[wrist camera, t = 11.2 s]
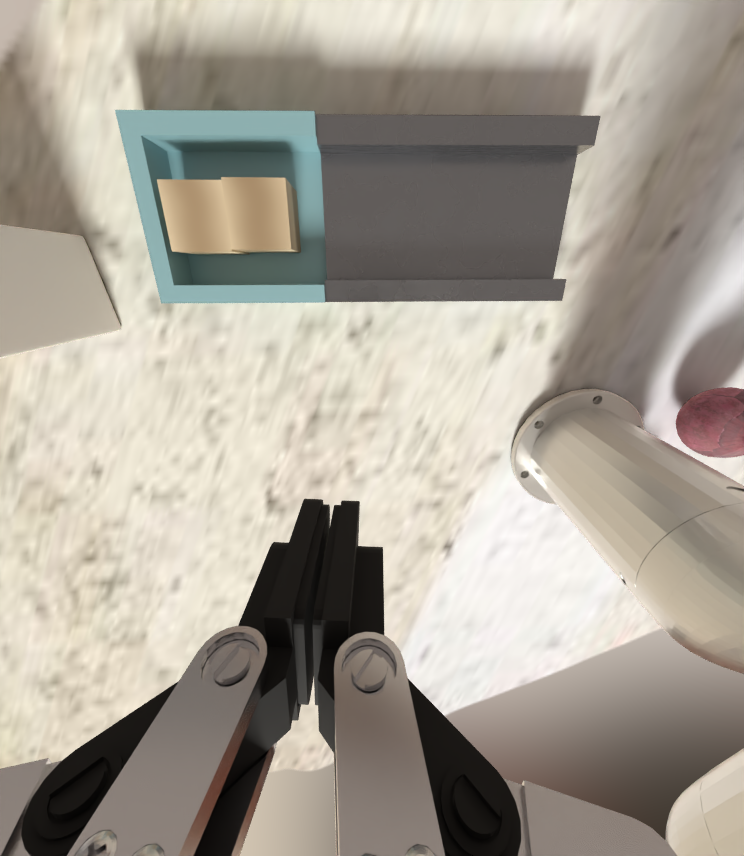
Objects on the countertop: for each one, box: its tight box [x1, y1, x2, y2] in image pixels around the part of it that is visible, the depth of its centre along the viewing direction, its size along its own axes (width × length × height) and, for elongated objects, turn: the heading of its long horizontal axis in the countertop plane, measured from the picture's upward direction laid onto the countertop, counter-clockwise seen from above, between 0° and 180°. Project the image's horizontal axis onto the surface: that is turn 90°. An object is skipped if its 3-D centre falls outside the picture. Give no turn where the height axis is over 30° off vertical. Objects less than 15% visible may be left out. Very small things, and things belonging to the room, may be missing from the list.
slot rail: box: [315, 114, 600, 302], centre depth 25 cm, size 18×11×3 cm, turn 90°
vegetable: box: [676, 387, 744, 458], centre depth 29 cm, size 6×6×10 cm
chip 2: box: [221, 177, 301, 253], centre depth 24 cm, size 4×4×4 cm
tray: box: [115, 110, 327, 303], centre depth 25 cm, size 12×11×4 cm
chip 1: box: [157, 179, 250, 255], centre depth 24 cm, size 4×4×4 cm
